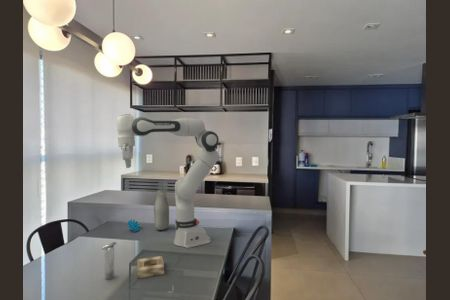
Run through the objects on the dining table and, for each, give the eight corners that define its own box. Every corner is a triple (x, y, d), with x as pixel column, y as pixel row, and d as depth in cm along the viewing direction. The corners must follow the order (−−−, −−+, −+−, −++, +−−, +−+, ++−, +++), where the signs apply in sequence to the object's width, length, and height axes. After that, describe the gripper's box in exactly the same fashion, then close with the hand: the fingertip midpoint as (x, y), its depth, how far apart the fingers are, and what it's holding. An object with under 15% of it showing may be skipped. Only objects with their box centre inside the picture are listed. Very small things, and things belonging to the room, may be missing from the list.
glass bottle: (164, 226, 190) (163, 188, 189) (171, 229, 182) (171, 190, 181) (151, 229, 183) (151, 190, 182) (159, 233, 175) (158, 192, 174)
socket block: (162, 262, 133) (162, 255, 133) (164, 273, 122) (164, 266, 121) (137, 266, 129) (137, 259, 129) (137, 278, 118) (137, 270, 118)
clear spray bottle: (113, 272, 123) (112, 240, 122) (119, 274, 121) (118, 242, 121) (99, 280, 116) (99, 246, 116) (105, 282, 115) (105, 248, 114)
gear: (132, 231, 173) (126, 219, 177) (127, 237, 175) (121, 225, 179) (144, 229, 183) (138, 217, 187) (139, 234, 185) (133, 222, 189)
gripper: (131, 142, 137) (133, 168, 137) (133, 143, 157) (135, 166, 157) (118, 142, 136) (120, 169, 136) (122, 144, 155) (124, 167, 155)
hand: (128, 167), depth 147 cm, fingers open, 8 cm apart
